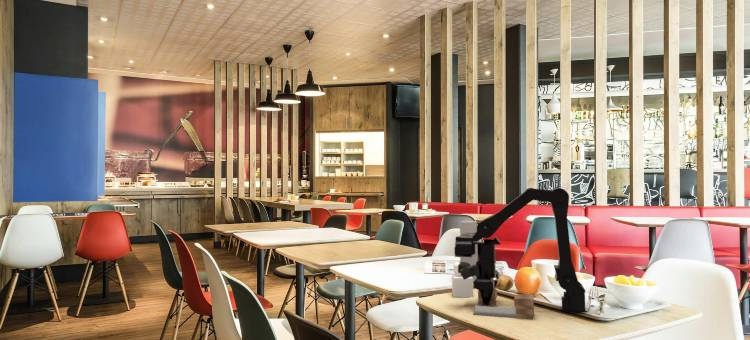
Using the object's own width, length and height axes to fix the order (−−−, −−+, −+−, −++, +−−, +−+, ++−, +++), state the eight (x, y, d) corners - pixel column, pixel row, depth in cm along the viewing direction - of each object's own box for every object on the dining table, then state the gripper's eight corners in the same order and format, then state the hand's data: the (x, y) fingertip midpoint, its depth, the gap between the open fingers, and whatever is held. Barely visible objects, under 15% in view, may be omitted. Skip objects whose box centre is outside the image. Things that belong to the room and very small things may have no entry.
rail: (533, 316, 158) (533, 306, 158) (533, 322, 153) (532, 311, 153) (475, 312, 165) (475, 302, 165) (472, 317, 159) (472, 307, 159)
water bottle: (460, 284, 206) (459, 222, 206) (460, 280, 213) (459, 220, 213) (483, 285, 204) (482, 222, 204) (482, 280, 212) (481, 220, 212)
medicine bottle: (471, 292, 191) (470, 260, 191) (473, 297, 184) (472, 264, 184) (452, 292, 192) (451, 260, 192) (453, 297, 185) (452, 264, 185)
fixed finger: (533, 314, 158) (533, 294, 159) (533, 319, 153) (532, 299, 153) (515, 312, 160) (515, 293, 160) (514, 318, 155) (514, 298, 155)
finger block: (497, 306, 171) (496, 288, 171) (495, 310, 165) (494, 292, 165) (480, 305, 173) (480, 287, 173) (478, 309, 167) (478, 291, 167)
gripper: (466, 252, 181) (467, 296, 181) (457, 261, 163) (457, 310, 163) (498, 253, 177) (499, 298, 177) (492, 262, 159) (493, 312, 159)
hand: (487, 304), depth 169 cm, fingers closed on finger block, 6 cm apart
